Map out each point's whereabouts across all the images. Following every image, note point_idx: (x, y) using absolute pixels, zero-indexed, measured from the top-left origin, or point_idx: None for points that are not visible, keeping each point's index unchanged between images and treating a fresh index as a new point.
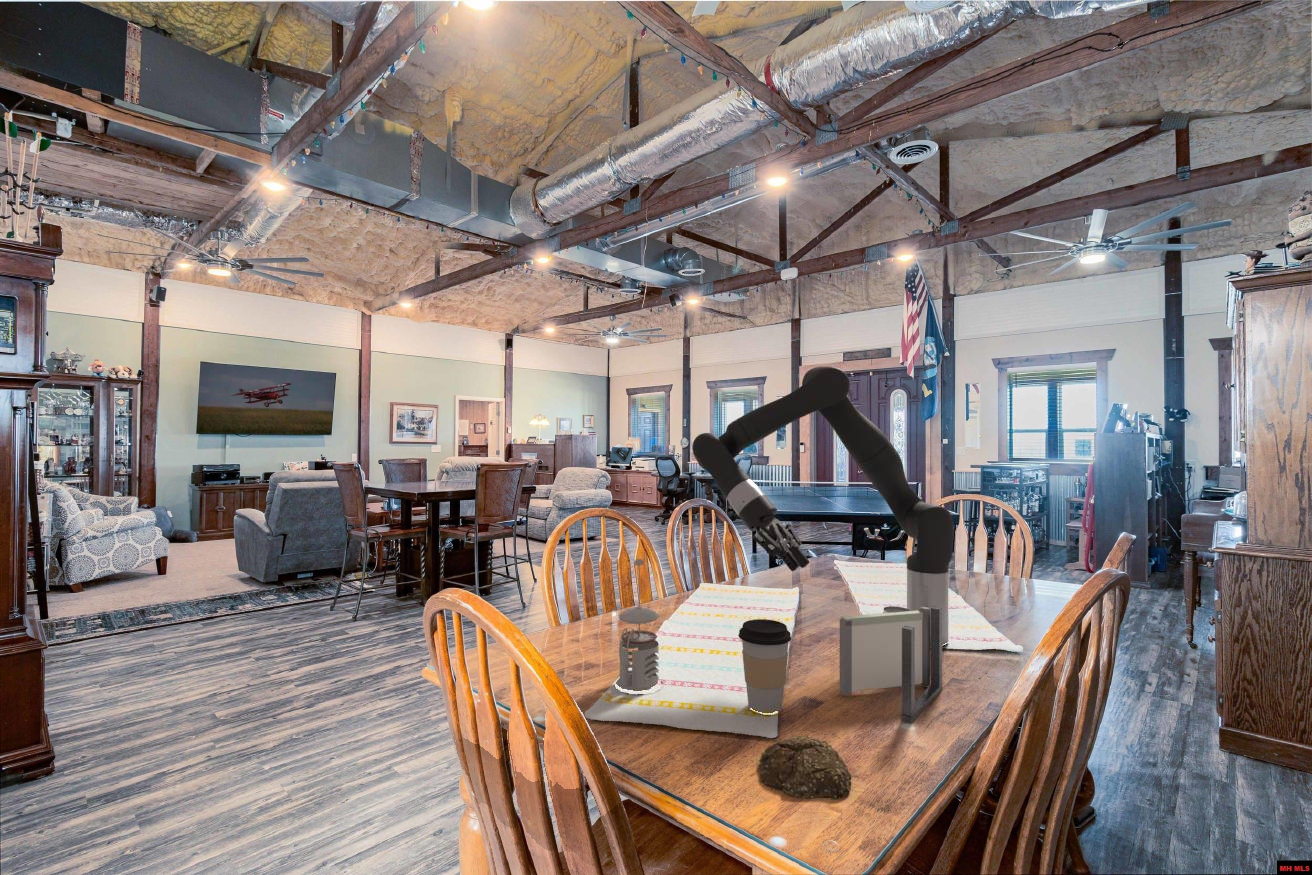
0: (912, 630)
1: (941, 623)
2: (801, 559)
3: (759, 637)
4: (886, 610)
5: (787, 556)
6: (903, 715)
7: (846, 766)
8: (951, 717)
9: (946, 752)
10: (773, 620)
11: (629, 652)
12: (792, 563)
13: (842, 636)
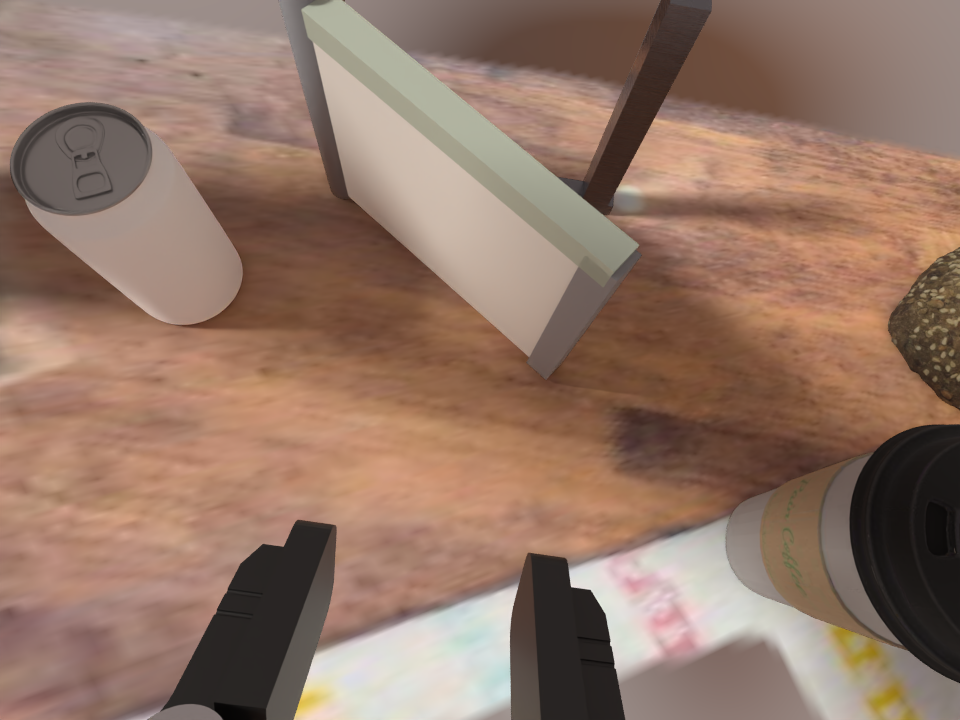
0: None
1: None
2: (312, 613)
3: None
4: (89, 205)
5: (619, 711)
6: (612, 201)
7: (956, 255)
8: (516, 123)
9: (697, 123)
10: (919, 544)
11: None
12: (603, 617)
13: (608, 297)
